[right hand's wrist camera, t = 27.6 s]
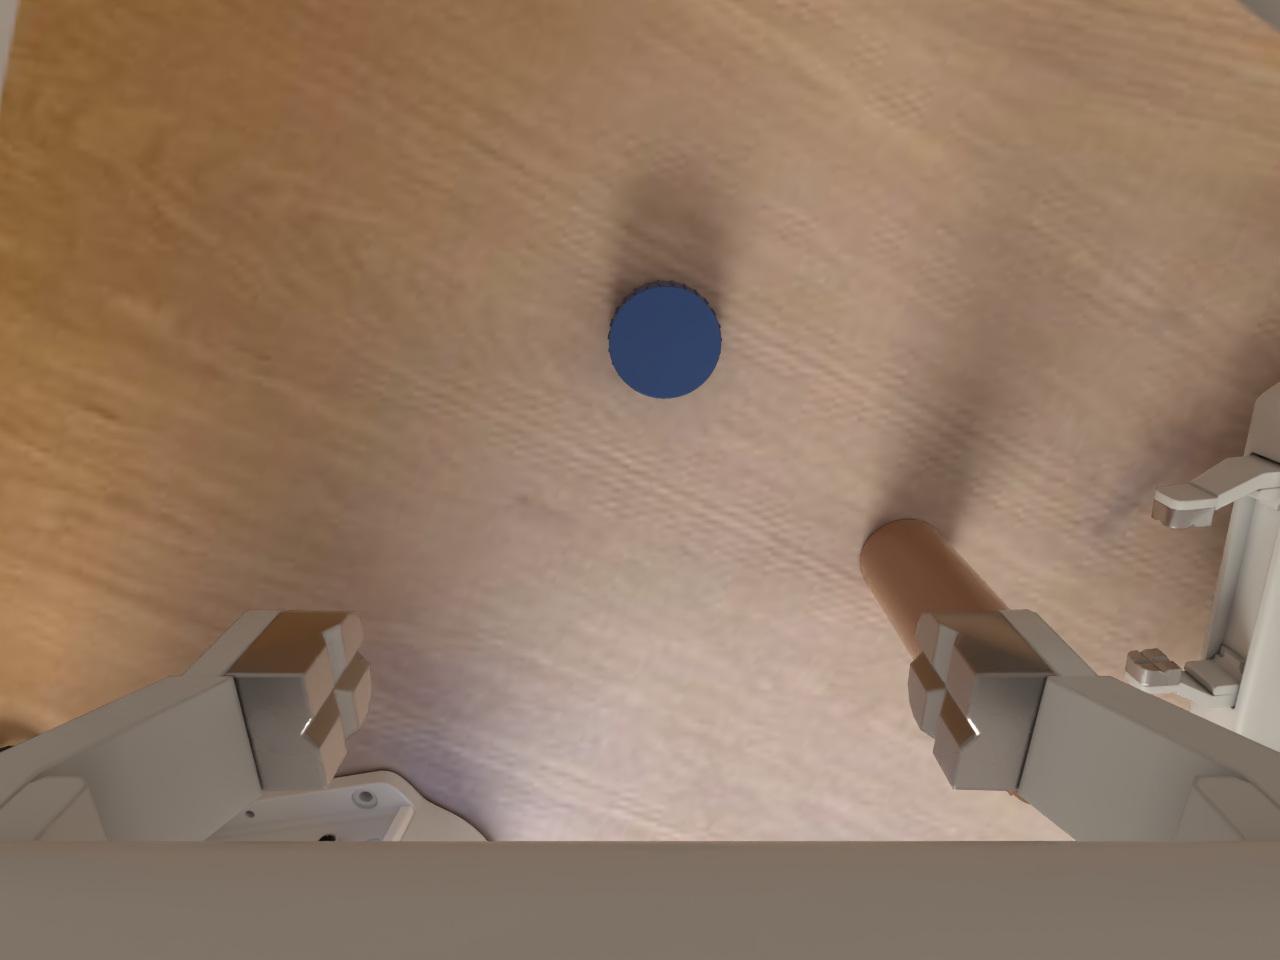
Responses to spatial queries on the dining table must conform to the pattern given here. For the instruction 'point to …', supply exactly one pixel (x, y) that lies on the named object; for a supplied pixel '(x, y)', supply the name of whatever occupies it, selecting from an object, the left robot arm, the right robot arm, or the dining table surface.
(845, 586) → the dining table surface
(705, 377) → the lid
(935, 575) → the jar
